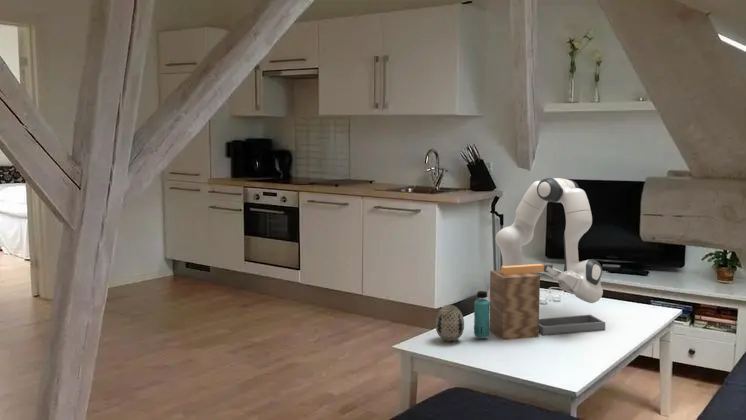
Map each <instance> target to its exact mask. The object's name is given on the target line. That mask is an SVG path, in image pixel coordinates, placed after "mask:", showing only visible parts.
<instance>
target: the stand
mask: <svg viewBox="0 0 746 420" xmlns="http://www.w3.org/2000/svg"><path fill="white" fill-rule="evenodd" d="M489 273H490V274H489V277H490V278H489V289H490V304H489V320H490V321H489V332H491V333H493V334H494V335H496V337H498V338H499V339H500V340H502V341H504V340H505V341H506V340H517V339H528V338H539V337H540V336H539V334H540V333H539V319H540V296H541V295H540V292H541V291H540V290H541V275H539V274H537V273H525V274H510V275H503V274H501V269H499V270H498V269H497V270H495V269H494V270H490V271H489Z"/></svg>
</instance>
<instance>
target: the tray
mask: <svg viewBox="0 0 746 420" xmlns="http://www.w3.org/2000/svg"><path fill="white" fill-rule="evenodd" d="M605 330H606V322H605V321H603V320H602V319H600V318H597V317H596V316H594V315H592V314H582V315H572V316H571V315H568V316H567V315H566V316H557V317H555V316H554V317H544V318H539V334H540V335H541V336H543V337H545V336H553V335H564V334H565V335H567V334H576V333H577V334H578V333H588V332H589V333H590V332H600V331H605Z"/></svg>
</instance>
